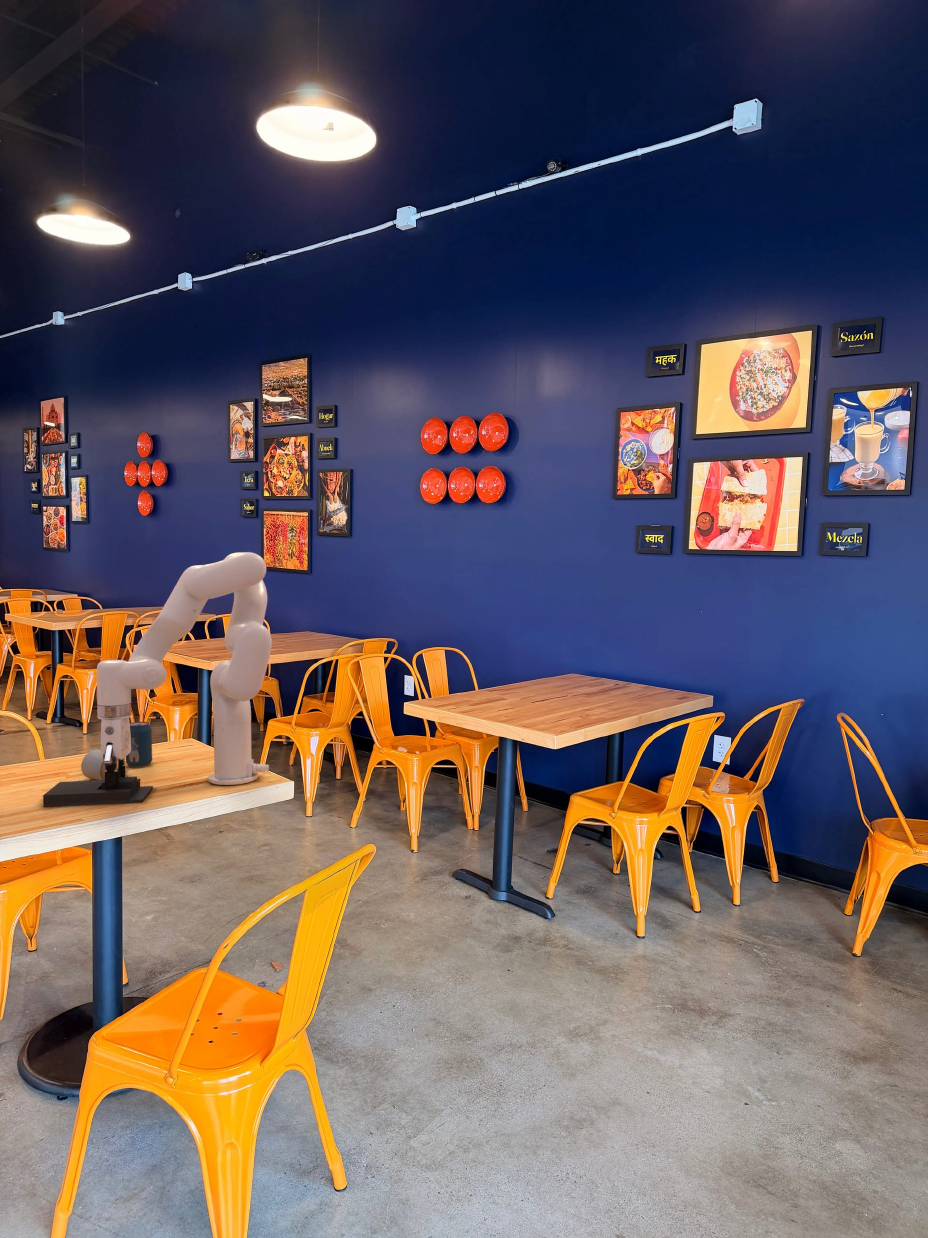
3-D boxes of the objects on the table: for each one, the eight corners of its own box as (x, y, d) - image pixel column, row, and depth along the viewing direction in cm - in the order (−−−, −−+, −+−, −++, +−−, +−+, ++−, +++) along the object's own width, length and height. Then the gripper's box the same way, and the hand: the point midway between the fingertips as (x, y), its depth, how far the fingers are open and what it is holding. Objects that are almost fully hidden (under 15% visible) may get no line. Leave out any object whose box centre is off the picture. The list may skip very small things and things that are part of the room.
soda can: (150, 761, 231) (149, 720, 230) (154, 766, 225) (153, 724, 224) (124, 764, 227) (123, 722, 226) (127, 769, 221) (126, 726, 220)
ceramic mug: (101, 785, 205) (101, 755, 204) (80, 781, 208) (80, 752, 208) (135, 776, 214) (135, 748, 214) (115, 773, 218) (115, 745, 217)
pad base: (153, 788, 202) (152, 778, 202) (142, 802, 190) (142, 791, 190) (60, 793, 198) (59, 781, 198) (43, 807, 186) (42, 795, 186)
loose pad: (137, 790, 198) (137, 776, 197) (132, 795, 193) (132, 781, 193) (107, 791, 196) (107, 777, 196) (101, 797, 192) (101, 783, 191)
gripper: (121, 717, 186) (122, 794, 187) (138, 705, 202) (139, 775, 203) (87, 717, 184) (88, 795, 185) (107, 705, 201) (108, 776, 202)
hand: (115, 784), depth 194 cm, fingers closed on loose pad, 5 cm apart
